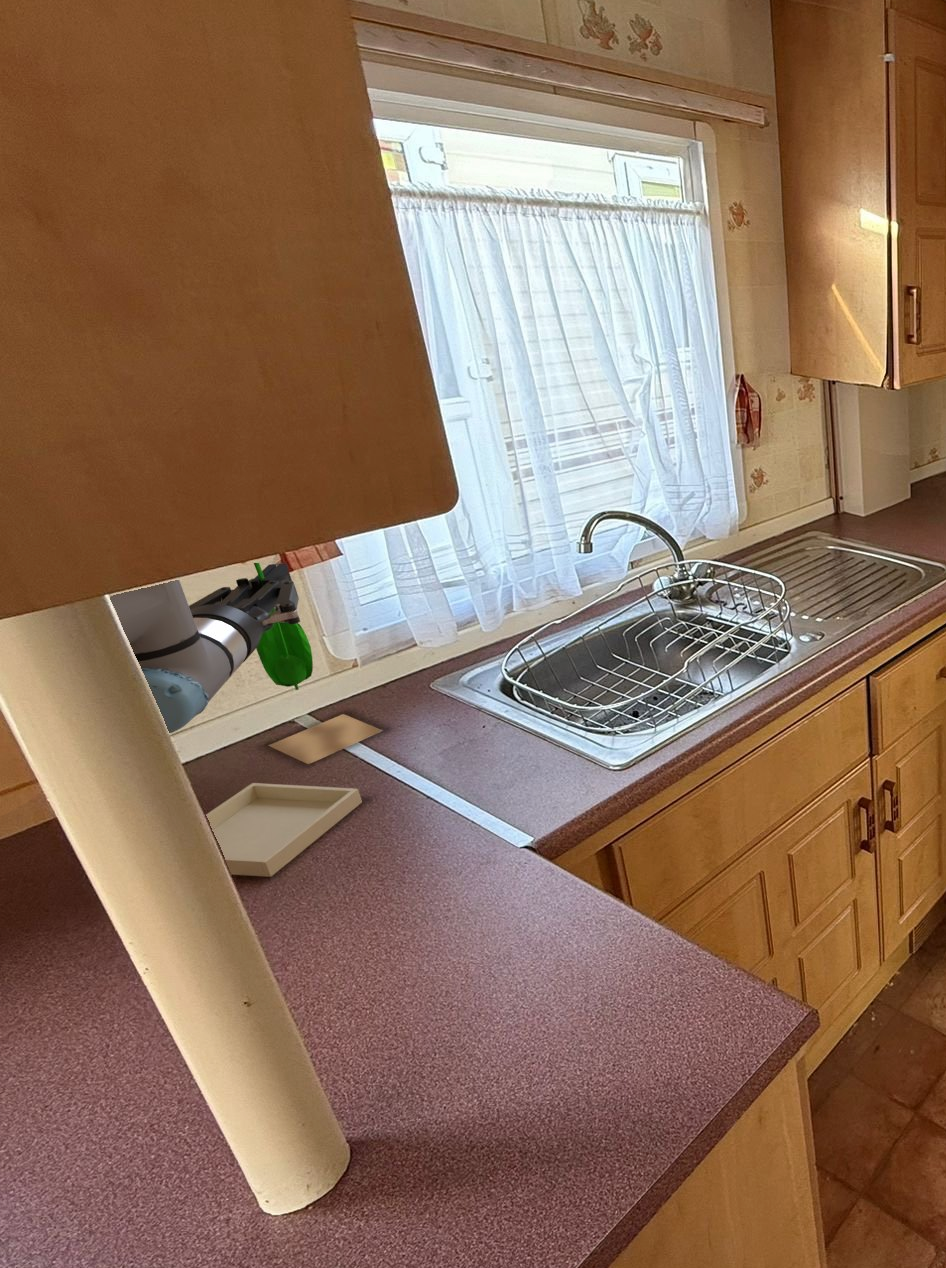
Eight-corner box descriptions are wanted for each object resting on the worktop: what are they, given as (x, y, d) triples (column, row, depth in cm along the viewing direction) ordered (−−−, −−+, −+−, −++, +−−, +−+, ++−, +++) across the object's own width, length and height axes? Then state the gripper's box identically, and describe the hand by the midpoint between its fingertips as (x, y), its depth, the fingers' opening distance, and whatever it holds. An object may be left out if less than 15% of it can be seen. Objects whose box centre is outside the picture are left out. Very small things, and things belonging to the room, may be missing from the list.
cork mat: (309, 767, 119) (308, 764, 119) (268, 748, 123) (267, 745, 123) (384, 733, 128) (383, 730, 128) (344, 716, 132) (343, 713, 131)
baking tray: (153, 873, 100) (145, 855, 99) (258, 798, 113) (252, 782, 112) (272, 879, 99) (265, 862, 98) (363, 804, 112) (358, 788, 111)
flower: (336, 692, 118) (270, 484, 107) (260, 710, 113) (183, 494, 102) (330, 669, 124) (267, 469, 112) (258, 685, 119) (184, 478, 107)
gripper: (142, 683, 97) (227, 603, 116) (289, 665, 102) (346, 591, 121) (117, 623, 94) (209, 552, 114) (270, 608, 99) (332, 542, 119)
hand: (280, 572), depth 117 cm, fingers closed on flower
